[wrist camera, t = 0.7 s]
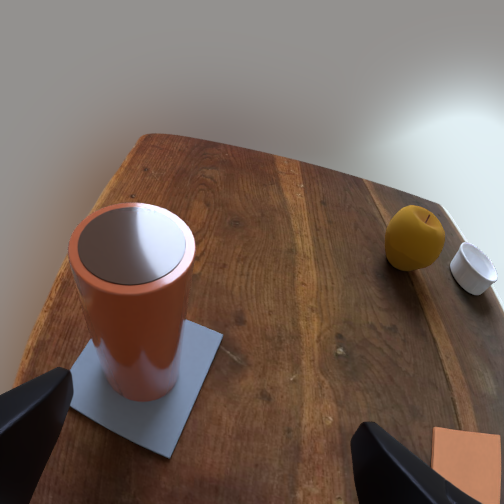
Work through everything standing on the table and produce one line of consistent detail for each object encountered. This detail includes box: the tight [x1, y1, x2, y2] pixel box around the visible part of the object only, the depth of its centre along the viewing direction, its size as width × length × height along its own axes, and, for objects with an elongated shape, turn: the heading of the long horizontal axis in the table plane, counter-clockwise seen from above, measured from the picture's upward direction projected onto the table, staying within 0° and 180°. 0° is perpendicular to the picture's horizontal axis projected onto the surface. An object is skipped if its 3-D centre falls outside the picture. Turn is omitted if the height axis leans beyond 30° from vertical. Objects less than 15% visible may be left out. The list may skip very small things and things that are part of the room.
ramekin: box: [450, 242, 498, 295], centre depth 43 cm, size 9×9×4 cm
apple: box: [385, 205, 445, 271], centre depth 39 cm, size 8×8×9 cm
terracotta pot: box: [68, 203, 196, 402], centre depth 19 cm, size 6×6×14 cm
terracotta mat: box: [431, 427, 501, 504], centre depth 18 cm, size 14×12×1 cm
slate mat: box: [70, 319, 223, 459], centre depth 23 cm, size 12×10×1 cm
